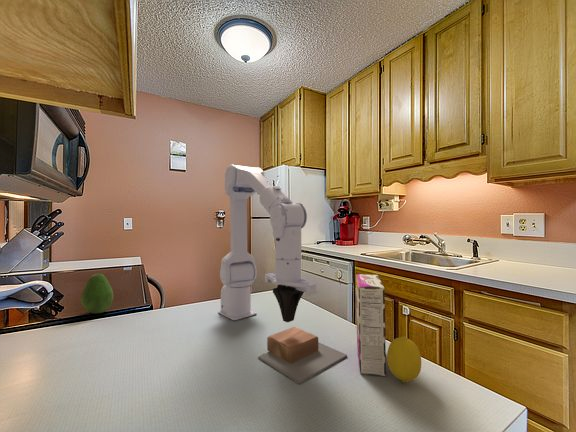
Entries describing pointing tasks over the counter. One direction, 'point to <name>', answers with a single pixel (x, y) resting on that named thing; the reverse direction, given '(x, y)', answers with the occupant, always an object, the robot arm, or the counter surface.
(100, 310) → the avocado
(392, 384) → the counter surface
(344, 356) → the mat
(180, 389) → the counter surface
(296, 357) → the wooden block
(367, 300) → the candy bar box
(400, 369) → the lemon
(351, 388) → the counter surface
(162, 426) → the counter surface
